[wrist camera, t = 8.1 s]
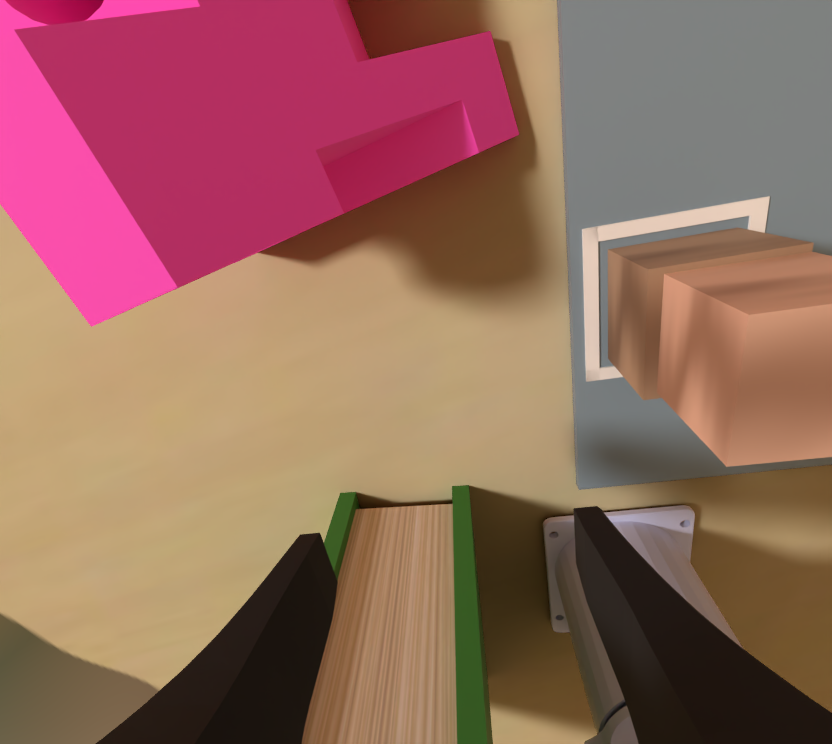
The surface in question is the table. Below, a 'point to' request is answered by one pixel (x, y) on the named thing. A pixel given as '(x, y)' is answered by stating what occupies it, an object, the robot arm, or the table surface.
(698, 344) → the terracotta block
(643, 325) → the walnut block
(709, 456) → the mat
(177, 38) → the bracket
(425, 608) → the hardback book
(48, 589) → the table surface
